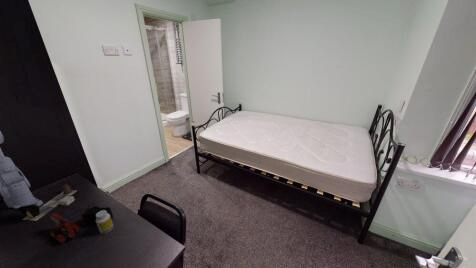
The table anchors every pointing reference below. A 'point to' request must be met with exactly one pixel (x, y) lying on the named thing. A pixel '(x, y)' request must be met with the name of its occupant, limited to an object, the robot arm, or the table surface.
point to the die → (67, 200)
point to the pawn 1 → (30, 216)
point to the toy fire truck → (63, 228)
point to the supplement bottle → (104, 222)
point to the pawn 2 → (66, 189)
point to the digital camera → (94, 215)
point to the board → (50, 205)
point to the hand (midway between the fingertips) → (33, 215)
